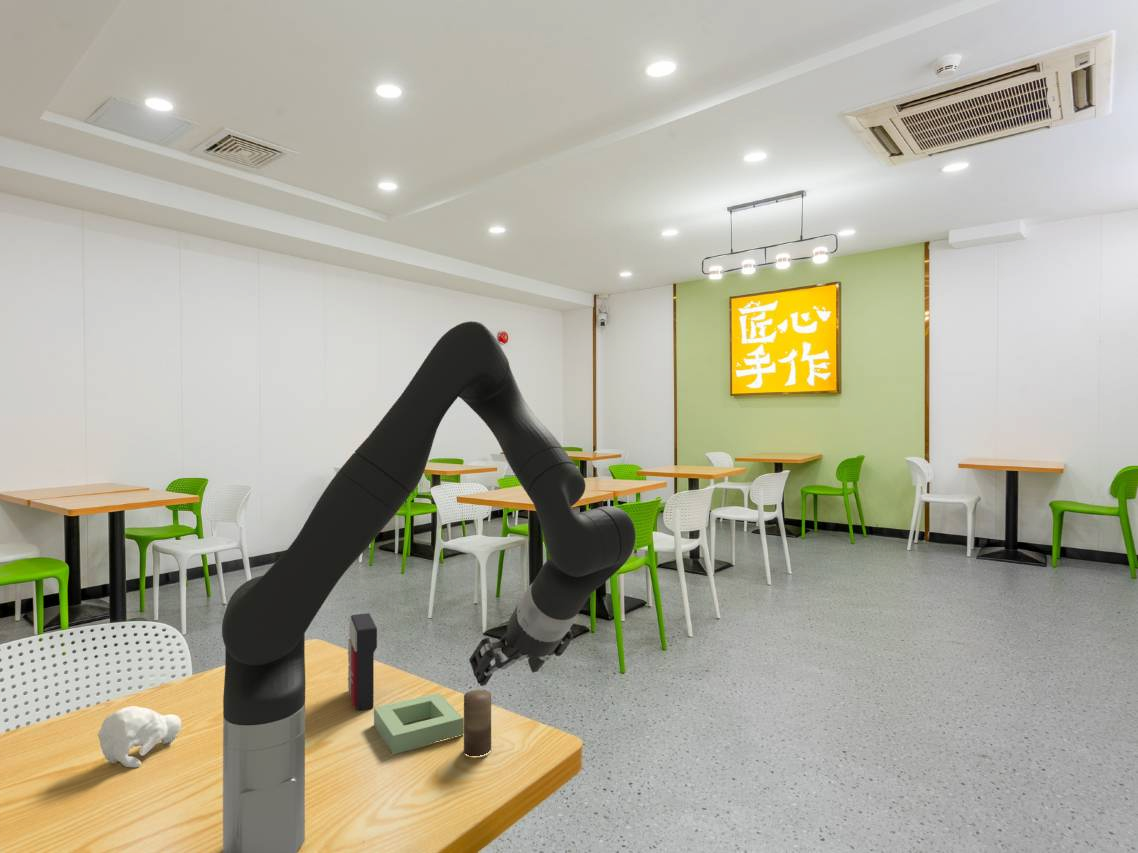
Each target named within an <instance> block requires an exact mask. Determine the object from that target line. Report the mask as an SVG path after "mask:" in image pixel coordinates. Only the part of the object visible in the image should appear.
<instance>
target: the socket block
mask: <svg viewBox="0 0 1138 853" xmlns="http://www.w3.org/2000/svg"><path fill="white" fill-rule="evenodd" d="M429 717H430V719H429ZM425 718H426V719H427V720H425ZM421 719H422V720H421ZM417 720H418V721H417ZM413 721H414V722H413ZM409 722H410V723H409ZM405 723H406V724H405ZM408 723H409V724H408ZM373 725H374V727H375V728H376V730H377V732H378V733H379V735H380V736H381V738H382V739H383V741H384V742H385V744H386V746H387V747H388V749H389V750H390V751H391V753H392V755H397V754H401V753H404V752H408V751H412V750H415V749H418V748H423V747H426V745H427V746H429V745H428V744H430V745H432V744H431V743H434V742H436V741H440V740H444V739H447V738H452V737H455V736H459V735H462V734H464V716H462V715H461V713H459V711H458V710H456V709H455V707H454V706H453V705H451V703H450V702H449V701H448V700H447V699H446V698H445V697H444V696H443V695H442V694H441V693H440V692H437V693H432V694H428V695H424V696H418V697H415V698H410V699H405V700H403V701H402V700H401V701H397V702H393V703H388V704H384V705H379V706H375V707H373ZM434 744H435V743H434ZM422 746H423V747H422Z"/></svg>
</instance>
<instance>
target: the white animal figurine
mask: <svg viewBox="0 0 1138 853" xmlns="http://www.w3.org/2000/svg"><path fill="white" fill-rule="evenodd" d="M181 729H182V720H181V718H180V717H179V716H178V715H176V714H165V715H163V714H160V713H159V712H157V711H154V710H153V709H149V708H147V707H141V706H136V705H131V706H127V707H123V708H120V709H118V710H117V711H115V712H113V713H112V714H110V715H108V716H107V717H106V718H105V719H104V720H103V722H102V724H101V727H100V729H99V731H98V732H97V737H98V739H99V743H100V748H101V752H102V754H103V756H104V758H105V760H107V761H108V762H110V763H111V764H116V763H118V762H119V763H121V765H123V766H124V767H126V768H139V767H140V766H142V762H141V760H140V759H138V758H137V757H135V756H132V755H129V754H130V750H131V749H132V748H133V747H140V746H141V748H140V749H139V755H140V756H145V755H146V754H147V753H148V752H149V751H150V750H151V749H153V748H154V747H155V746H156V745H157V743H160V742H161V744H163V745H167V744H168V743H169V744H170V743H171V744H173V743H174V742H175V740H176V738H177V735H178V734H179V732H180V731H181Z"/></svg>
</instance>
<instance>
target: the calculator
mask: <svg viewBox="0 0 1138 853" xmlns="http://www.w3.org/2000/svg"><path fill="white" fill-rule="evenodd" d="M347 645H348V648H347V649H348V651H347V655H348V656H347V657H348V661H347V662H348V667H347V669H348V671H347V672H348V676H347V681H348V682H347V685H348V687H347V688H348V692H349V695H350V699H351V704H352V706H353V708H356V711H363V710H369V709H372V708H373V709H374V705H375V704H374V693H375V692H374V688H375V686H374V685H375V684H374V682H375V681H374V675H375V674H374V671H375V670H374V667H375V666H374V664H375V663H374V662H375V661H374V660H375V658H374V653H375V651H376V649H377V647H378V628H377V625H376V624H375V622H374V619H373V617H372V616H371V614H370V612H366V613H359V614H352V615H351V616H350V618H349V638H348V644H347Z"/></svg>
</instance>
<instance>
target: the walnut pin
mask: <svg viewBox="0 0 1138 853" xmlns="http://www.w3.org/2000/svg"><path fill="white" fill-rule="evenodd" d="M463 718H464V736H463V754H464V753H465V754H467V755H469V756H480V755H484V754H486V753H488V752H489V751H490V750H491V751H492V692H490V691H489V690H485V689H474V690H470V691H467V692H465V693H464V695H463ZM465 754H464V755H465Z"/></svg>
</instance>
